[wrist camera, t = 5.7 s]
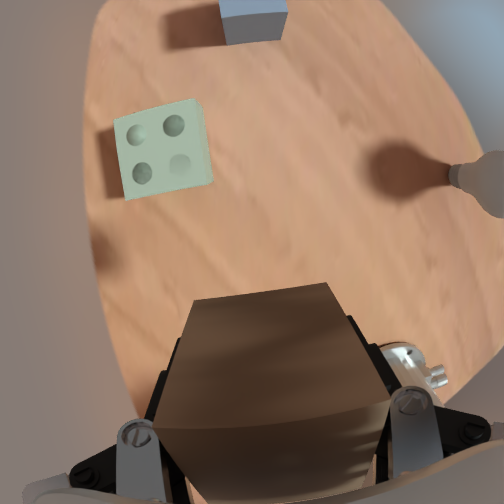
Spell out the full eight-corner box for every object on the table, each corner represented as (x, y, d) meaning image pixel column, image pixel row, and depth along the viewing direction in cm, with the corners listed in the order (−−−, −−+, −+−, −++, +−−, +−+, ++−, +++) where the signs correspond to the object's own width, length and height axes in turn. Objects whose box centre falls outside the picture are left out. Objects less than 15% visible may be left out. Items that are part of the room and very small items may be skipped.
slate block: (271, 1, 19) (276, -30, 14) (280, 40, 21) (288, 11, 15) (220, 7, 20) (214, -25, 14) (227, 45, 21) (221, 17, 15)
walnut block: (326, 282, 10) (391, 398, 5) (327, 378, 12) (360, 487, 6) (194, 300, 11) (151, 427, 5) (220, 392, 12) (209, 505, 6)
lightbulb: (438, 209, 26) (508, 236, 15) (426, 155, 24) (500, 161, 14) (473, 193, 25) (540, 213, 15) (462, 142, 24) (533, 146, 13)
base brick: (202, 107, 23) (194, 97, 19) (213, 181, 25) (207, 184, 21) (131, 124, 23) (113, 119, 19) (142, 194, 25) (125, 200, 22)
